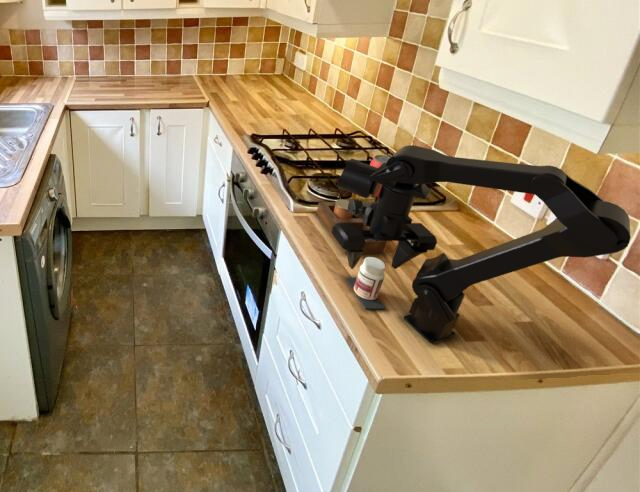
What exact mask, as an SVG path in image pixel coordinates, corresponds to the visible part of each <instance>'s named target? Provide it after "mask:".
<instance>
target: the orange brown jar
mask: <svg viewBox="0 0 640 492" xmlns="http://www.w3.org/2000/svg"><path fill="white" fill-rule="evenodd" d="M349 201H350V200H348V199H342V198H340V199H337V200H336V201H334V202H335V208H334V212H333V213H334V214H335V216H336V217H337V218H352V216H353V215H352V214H350V213H349V212H348V204H349Z"/></svg>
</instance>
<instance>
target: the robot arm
mask: <svg viewBox="0 0 640 492" xmlns="http://www.w3.org/2000/svg"><path fill="white" fill-rule="evenodd" d="M389 157H390V158H389V160H388V161H387V162H386V163H383V164H382V165H381V166H380V167H379V168H376V167H373V166H370V164H367V163H364V162H362V161H360V160H358V159H356V158H350V159H349V160H347V161H346V165H345V167H344V168H343V170H342V172H341V175H339V177H338V178H337V185H336V186H337V188H338V189H341V190H343V191H345V192H349V193H351V194H354V195H356V196H359V197H361V198H363V199H369V198H370V197H373V196H375V195H376V193H377V192H378V190H379V188H380V185H381V184H382V187H381V190H380V194H379V197H377V200H376V201H362V200H359V199H358V198H351V199H349V200H348V201H349V204H348V212H349V213H350V214H352V215H355V216H356V217H360V218H362V219H363V222H362V223H363V224H364V225H365V226H368V227H369V228H368V230H359V229H358V228H357V227H356V226H355V225H354V223H336V224H334V225H333V228H332V231H331V233H332V234H333V236H334V237H335V239H336V240H337V241H338V243H339V244H340V246H341V247H342V248H343V249H345V250H346V251H347V254H346V256H347V262H348V267H349V268H350V270H354V269H355V267H356V266H357V264H358V263H359V261H360V259H361V257H362V256H363V255H364V254H363V252H364V251H363V250H362V248H363V247H364V246H365V241H387V242H397V245H396V249H395V251H394V254H393V257H392V260H391V268H392V269H394V270H397V269H398V268H400V267H402V266H403V265H405V264H406V263H407V262H409V261H411V260H413V259H415V258H416V257H418V256H420V255H422V254H427V253H428V251H434V250H435V249H436V246H437V243H438V240H437V237H436V236H435V234H433V232H432V231H430V230H429V229H428V228H427V227H426V226H425V225H424V224H422V222H413V218H411V216H410V213H411V210H412V207H413V205H414V202H415V199H416V198H418V199H420V200H426V199H428V197H429V196H430V194H431V192H432V191H431V189H430V188H429V187H428V186H427V184H433V183H434V184H435V183H451V184H457V185H458V184H459V185H465V186H471V187H473V186H474V187H480V188H486V189H492V190H493V189H494V190H500V191H501V190H502V191H508V192H514V193H522V194H527V195H528V194H529V195H535V196H536V197H537V198H538V199H539V200H541V201H542V202H543V203H544V204H545V206H546V207H547V208H548V209H549V211H550V212H551V213H552V215H554V217H555V219H554V220H553V221H551V222H549V224H548V225H546V226H545V227H543V228H541V229H539V230H535V231H534V232H530V233H528V234H525V235H522V236H520V237H516V238H513V239H512V240H509V241H506V242H504V243H500V244H498V245H495V246H492V247H490V248H487V249H484V250H482V251H478V252H477V253H473V254H471V255H468V256H466V257H463V258H459V259H453V258H449V257H448V256H447V254H446V253H444V252H442V253H440V254H438V255H436V256H435V257H433V258H425V260H424V262H423V263H422V264H421V267H420V268H419V269H418V271H417V273H416V276H415V277H414V279H413V280H412V283H411V287H412V291H413V293H414V294H415V295H416V297H415V298H414V299H413V300H412V303H411V306H410V308H409V311H408V313H409V314H406V315H404V316H403V320H404V321H405V322H407V324H408V325H409V326H411V328H413V329H414V331H416V332H417V333H418V334H419V335H420V336H422V337H423V338H424V340H426V341H427V342H428V343H429V344H437V343H439V342H443V341H445V340H449V339H452V338H455V337H456V336H457V334H456V332H455V331H454V328H455V327H456V325H457V323H458V320H459V319H460V317H461V315H460V313H458V312H459V309H460V308H461V306H462V303H463V300H464V299H465V296H466V294H465V292H464V291H465V290H467V289H468V288H469V287H471V286H473V285H477V284H479V283H482V282H485V281H489V280H491V279H495V278H499V277H501V276H505V275H507V274H511V273H514V272H518V271H521V270H523V269H526V268H531V267H533V266H536V265H539V264H542V263H545V262H549V261H552V260H555V259H558V258H585V259H586V258H592V257H597V256H598V257H599V256H604V255H605V256H606V255H611V254H617V253H619V252H621V251H624V250H625V249H627V247H628V246H629V244H630V241H631V221H630V220H631V219H630V216H629V214H628V212H627V211H626V210H625V209H624V208H622V207H621V206H619V205H618V204H615V203H612V202H610V201H605V200H603V199H602V198H601V197H600V196H599V195H598V194H596V193H595V192H594V191H593V190H592V189H590V188H589V187H587V186H585V185H583V184H582V183H580V182H578V181H576V179H575V180H574V179H573V178H571V177H570V176H569V175H568V174H567V173H566V172H565V171H563V169H561V168H559V167H558V166H553V165H532V164H526V163H525V164H524V163H514V162H504V161H494V160H486V159H476V158H466V157H459V156H458V157H457V156H451V155H447V154H444V153H441V152H439V151H437V150H434V149H432V148H427V147H423V146H418V145H413V144H411V145H404V146H401V148H399V149H398V150H397V151H395V152H394V153H393V154H392V155H391V156H389ZM370 194H371V195H372V196H370ZM335 239H334V240H335ZM340 246H339V247H340Z"/></svg>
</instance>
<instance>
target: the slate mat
mask: <svg viewBox="0 0 640 492" xmlns="http://www.w3.org/2000/svg"><path fill="white" fill-rule="evenodd" d="M356 278H357V277H345V280H346V281H347V283H348V284H349V286H350V288H351V289H352V291H353V292H354V294H355V295H356V297H357V298H358V300H359V302H360V303H361V305H362V306H363V308H364V310H371V311H372V310H374V311H377V310H378V311H381V310H382V311H385V309H386V308H385V307H384V305H383V304H382V301H380V300H379V299H380V298H378V297H377V298H376V299H374V300H367V299H364V298H362V297H360V296H358V295H357V294H356V292H355V291H354V285H355V282H356Z"/></svg>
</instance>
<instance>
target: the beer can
mask: <svg viewBox="0 0 640 492" xmlns="http://www.w3.org/2000/svg"><path fill="white" fill-rule="evenodd" d="M390 157H391V156H388V155H386V154H385V155H384V154H377V155H374V157H373V158H372V160H371V161H370V163H369V165H370V166H373V167H376V168H379V167H380V166H381V165H382V164H383V163H386V162H387V161H388V160H389V158H390ZM381 187H382V184H381V185H380V188H379V190H378V192H377V193H376V195H375V196H372V195H371V194H370V196H369V197H373V198H378V197H379V194H380V190H381Z"/></svg>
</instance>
